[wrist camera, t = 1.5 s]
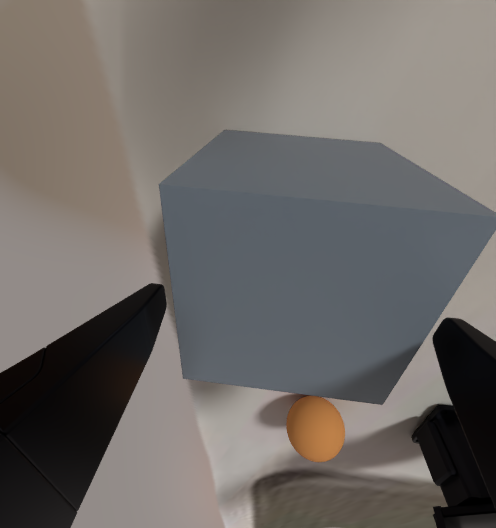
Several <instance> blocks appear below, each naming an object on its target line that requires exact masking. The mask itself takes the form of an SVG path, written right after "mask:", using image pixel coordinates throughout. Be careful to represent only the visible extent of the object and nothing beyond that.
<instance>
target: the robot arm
mask: <svg viewBox="0 0 496 528" xmlns="http://www.w3.org/2000/svg"><path fill="white" fill-rule="evenodd" d="M165 311H166V296H165V289H164V286H163V285H162V284H154V283H151V284H148V285H147V286H145V287H143V288H142V289H140V290H139V291H137V292H135V293H134V294H132V295H130V296H129V297H127V298H125V299H124V300H122V301H120V302H119V303H117V304H115V305H114V306H112V307H110V308H109V309H107V310H105V311H104V312H102V313H101V314H99V315H97V316H95V317H94V318H92V319H90V320H89V321H87V322H86V323H84V324H83V325H81V326H79V327H77V328H76V329H74V330H72V331H71V332H69V333H67V334H66V335H64V336H62V337H61V338H59V339H57V340H56V341H54V342H52V343H51V344H49V345H48V346H47V347H46V348H42V349H41V350H39V351H37V352H36V353H34V354H33V355H31V356H29V357H27V358H26V359H24V360H22V361H20V362H19V363H17V364H15V365H14V366H12V367H10V368H8V369H7V370H5V371H3V372H1V373H0V528H70V527H71V525H72V523H73V521H74V519H75V516H76V514H77V511H78V510H79V508H80V505H81V503H82V501H83V499H84V497H85V495H86V492H87V490H88V488H89V486H90V484H91V482H92V479H93V477H94V475H95V473H96V471H97V469H98V467H99V464H100V462H101V460H102V458H103V456H104V454H105V451H106V449H107V447H108V445H109V443H110V441H111V439H112V436H113V434H114V432H115V430H116V428H117V426H118V423H119V421H120V419H121V417H122V415H123V413H124V410H125V408H126V406H127V404H128V402H129V400H130V398H131V395H132V393H133V391H134V389H135V387H136V384H137V383H138V380H139V378H140V376H141V373H142V372H143V370H144V367H145V365H146V363H147V361H148V359H149V357H150V354H151V352H152V350H153V347H154V344H155V341H156V338H157V335H158V332H159V329H160V326H161V323H162V320H163V317H164V314H165ZM433 345H434V348H435V352H436V355H437V359H438V362H439V366H440V369H441V372H442V376H443V379H444V382H445V386H446V389H447V391H448V394H449V397H450V399H451V401H452V404H453V406H447V405H440V406H437V407H436V408H435V409H434V411H433V412H432V413H431V414H430V415H429V416H428V417H427V419H426V420H425V421H424V422H423V423H422V424H421V426H420V427H419V428H418V429H417V430H416V431H415V432H414V434H413V435H412V436H411V438H412V440H413V442H414V443H419V445H420V447H421V450H422V453H423V455H424V458H425V460H426V463H427V466H428V468H429V471H430V474H431V476H432V479H433V481H434V483H435V484H436V485H437V486H440V487H441V490H442V492H443V495H444V497H445V500H446V502H447V505H448V507H441V506H435V507H433V509H434V512H435V514H433V516H434V519H435V522H436V526H437V528H496V341H494V340H493V339H491V338H489V337H488V336H486V335H485V334H483V333H482V332H480V331H479V330H477V329H476V328H474V327H473V326H471V325H470V324H468V323H467V322H465V321H464V320H462V319H458V318H445V319H444V320H443V321H442V322H441V324H440V325H439V327H438V328H437V330H436V331H435V333H434V335H433Z"/></svg>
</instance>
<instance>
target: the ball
mask: <svg viewBox="0 0 496 528" xmlns="http://www.w3.org/2000/svg"><path fill="white" fill-rule="evenodd" d="M286 426H287V433H288V437H289V440H290V442H291V444H292V446H293V447H294V449H295V450H296V451H297V452H298V453H299V454H300V455H301V456H303V457H304V458H306V459H308V460H310V461H314V462H325V461H328V460H330V459H332V458H334V457H335V456H336V455H337V454H338V453H339V451H340V450H341V448H342V446H343V443H344V438H345V428H344V423H343V420H342V417H341V415H340V413H339V412H338V410H337V409H336V408H335V407H334V405H333V404H331V403H330V402H329V401H327V400H326V399H324V398H321V397H318V396H306V397H303V398H301V399H299V400H298V401H296V402H295V403H294V404H293V406H292V407H291V409H290V411H289V413H288V416H287V424H286Z"/></svg>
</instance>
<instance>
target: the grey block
mask: <svg viewBox="0 0 496 528" xmlns="http://www.w3.org/2000/svg"><path fill="white" fill-rule="evenodd" d="M159 189H160V197H161V205H162V213H163V221H164V229H165V237H166V245H167V253H168V261H169V269H170V277H171V285H172V293H173V301H174V309H175V317H176V325H177V333H178V341H179V349H180V357H181V365H182V374H183V379H191V380H199V381H206V382H214V383H221V384H229V385H236V386H244V387H251V388H259V389H267V390H274V391H282V392H289V393H297V394H304V395H312V396H319V397H327V398H335V399H342V400H350V401H357V402H365V403H372V404H380V405H383V403H384V402H385V400H386V399H387V397H388V396H389V394H390V392H391V391H392V389H393V388H394V386H395V385H396V383H397V382H398V380H399V379H400V377H401V375H402V374H403V372H404V371H405V369H406V368H407V366H408V365H409V363H410V362H411V360H412V358H413V357H414V355H415V354H416V352H417V351H418V349H419V348H420V346H421V345H422V343H423V341H424V340H425V338H426V337H427V335H428V334H429V332H430V331H431V329H432V328H433V326H434V324H435V323H436V321H437V320H438V318H439V317H440V315H441V314H442V312H443V311H444V309H445V307H446V306H447V304H448V303H449V301H450V300H451V298H452V297H453V295H454V294H455V292H456V290H457V289H458V287H459V286H460V284H461V283H462V281H463V280H464V278H465V277H466V275H467V273H468V272H469V270H470V269H471V267H472V266H473V264H474V263H475V261H476V260H477V258H478V256H479V255H480V253H481V252H482V250H483V249H484V247H485V246H486V244H487V243H488V241H489V239H490V238H491V236H492V235H493V233H494V232H495V230H496V213H495V212H494V211H492V210H490V209H489V208H487V207H486V206H484V205H482V204H481V203H479V202H477V201H476V200H474V199H472V198H471V197H469V196H467V195H466V194H464V193H462V192H461V191H459V190H457V189H456V188H454V187H452V186H451V185H449V184H448V183H446V182H444V181H443V180H441V179H439V178H438V177H436V176H434V175H433V174H431V173H429V172H428V171H426V170H424V169H423V168H421V167H419V166H418V165H416V164H414V163H413V162H411V161H410V160H408V159H406V158H405V157H403V156H401V155H400V154H398V153H396V152H395V151H393V150H391V149H390V148H388V147H386V146H385V145H383V144H381V143H374V142H362V141H351V140H339V139H327V138H315V137H304V136H292V135H280V134H269V133H257V132H245V131H233V130H224V131H223V132H221V133H220V134H219V135H218V136H217V137H215V138H214V139H213V140H212V141H210V142H209V143H208V144H207V145H206V146H204V147H203V148H202V149H201V150H200V151H198V152H197V153H196V154H195V155H194V156H192V157H191V158H190V159H189V160H188V161H186V162H185V163H184V164H183V165H182V166H180V167H179V168H178V169H177V170H175V171H174V172H173V173H172V174H171V175H169V176H168V177H167V178H166V179H165V180H163V181H162V182H161V183H160V184H159Z"/></svg>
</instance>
